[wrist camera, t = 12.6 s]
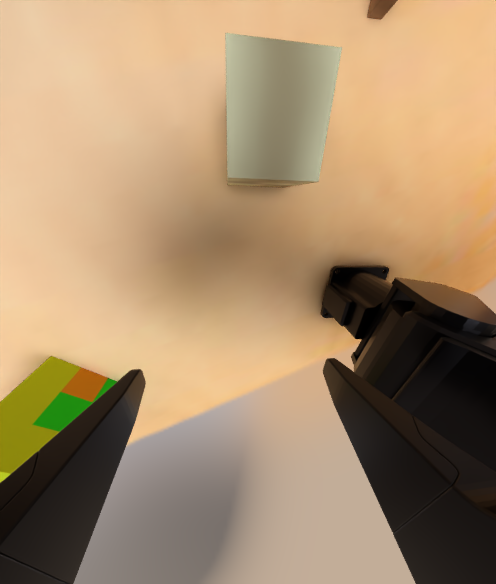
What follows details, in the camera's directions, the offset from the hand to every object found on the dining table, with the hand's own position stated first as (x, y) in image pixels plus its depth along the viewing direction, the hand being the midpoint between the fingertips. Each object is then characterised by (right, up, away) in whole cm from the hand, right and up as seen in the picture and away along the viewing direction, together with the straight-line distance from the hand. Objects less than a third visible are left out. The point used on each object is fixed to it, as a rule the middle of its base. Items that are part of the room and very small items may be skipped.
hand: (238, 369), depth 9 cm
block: (+1, +15, +6) cm, 16 cm away
